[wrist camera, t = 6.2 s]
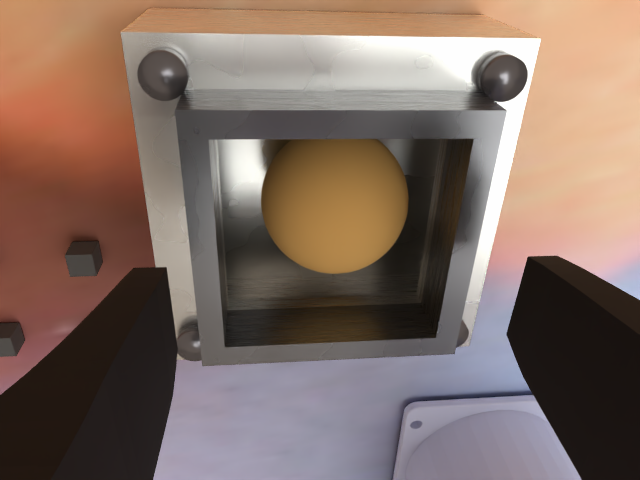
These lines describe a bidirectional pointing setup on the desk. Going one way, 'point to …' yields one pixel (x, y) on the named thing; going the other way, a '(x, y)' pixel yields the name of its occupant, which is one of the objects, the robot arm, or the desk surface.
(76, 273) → the cradle
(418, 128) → the silver open square box
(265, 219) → the ball
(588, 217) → the desk surface
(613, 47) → the desk surface
